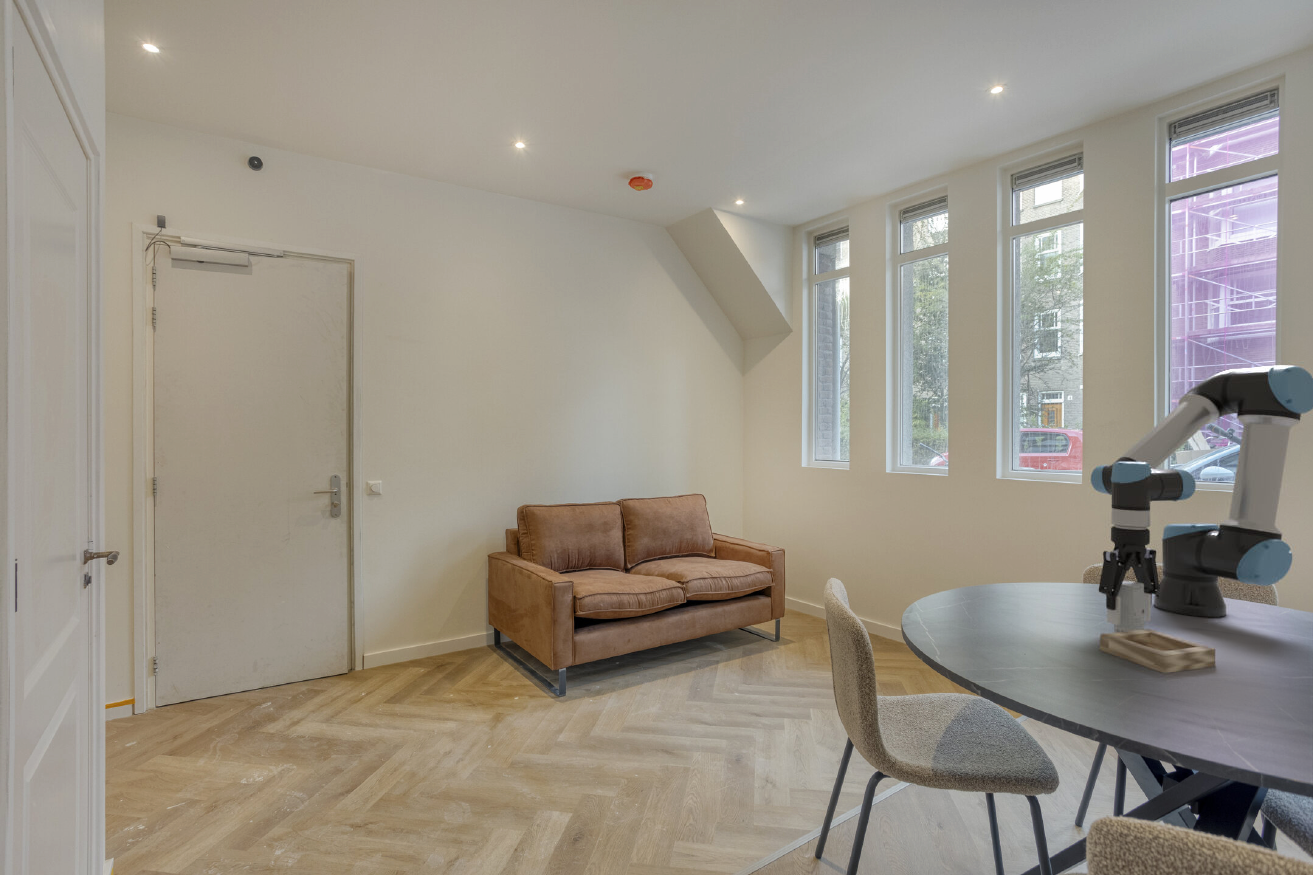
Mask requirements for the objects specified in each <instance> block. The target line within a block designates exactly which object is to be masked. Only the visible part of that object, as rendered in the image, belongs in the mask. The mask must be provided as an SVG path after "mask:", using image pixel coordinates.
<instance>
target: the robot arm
mask: <svg viewBox="0 0 1313 875" xmlns="http://www.w3.org/2000/svg"><path fill="white" fill-rule="evenodd" d="M1312 410H1313V376H1312V374H1311V373H1310V372H1309V371H1308V370H1306V369H1305V368H1303V367H1300V366H1298V365H1278V364H1275V365H1271V366H1270V365H1269V366H1258V367H1249V368H1247V367H1245V368H1232V369H1228V370H1224V371H1220V372H1218V373H1216V374H1214V375H1212V376H1209V377H1208V378H1207V379H1204V380H1203V381H1201V382H1200V383H1198V384H1197V385H1194V386H1193V387H1192V388H1191V389H1190V390H1189V391H1187V392H1186V393H1185V394H1184V395H1183V396H1182V397H1181V398H1179V400H1178V406H1176V408H1174V409H1173V410H1172V411H1170V413H1168V414H1167V415H1166V416H1165V417H1164V418H1163V419H1162V420H1161V421H1159V422H1158V423H1157V424H1156V425H1155V426H1153V428H1151V430H1149V431H1148V432H1147V433H1146V434H1145V435H1144V436H1143V437H1142V438H1141V439H1139V440H1138V441H1137V442H1136V443H1135V444H1134V445H1132V446H1131V447H1130V448H1129V449H1128V450H1126V452H1124V453H1123V454H1122V455H1121V456H1120V457H1119V458H1118V459H1116V461H1114V462H1112V464H1101V465H1099V466H1098V465H1097V466H1096V467H1095V468H1094V469H1093V470H1092V471H1091V474H1090V483H1091V486H1092V487H1093V489H1094V490H1096V491H1097V492H1098V493H1101V494H1105V495H1109V496H1110V495H1111V524H1112V525H1113V526H1112V527H1110V541H1111V542H1112V543H1113V544H1114V547H1113V549H1112V551H1111V550H1110V551H1109V550H1104V551H1103V552H1102V558H1103V563H1102V569H1101V574H1100V579H1099V585H1098V592H1099V593H1101V594H1103V595H1105V597H1106V599H1105V602H1106V603H1105V604H1106V605H1105V607H1106V609H1107V611H1106V612H1107V613H1106V615H1107V616H1106V621H1107V623H1110V624H1113V625H1114V624H1116V625H1120V612H1121V597H1118V593H1119V590H1120V588H1121V585H1122V582H1123V581H1125V578H1126V577H1125V576H1126V575H1127V574H1126V573H1127V572H1128V571H1130V569H1131V568H1132V570H1133V573H1134V577H1135V578H1136V582H1138V583H1143V584H1144V622H1152V620H1151V618H1152V616H1151V614H1152V612H1151V611H1152V610H1151V608H1152V607H1151V606H1152V602H1153V605H1154V606H1155V607H1156V608H1158V609H1161V610H1163V611H1167V612H1170V613H1171V612H1172V613H1176V614H1181V615H1187V616H1193V617H1206V618H1208V617H1209V618H1219V617H1224V616H1226V615H1227V604H1226V603H1225V600H1224V596H1223V594H1222V591H1221V589H1220V586H1219V578H1222V579H1226V580H1231V581H1236V582H1240V583H1242V584H1247V585H1256V586H1260V587H1261V586H1262V587H1263V586H1264V587H1265V586H1267V587H1269V586H1272V585H1274V584H1276V583H1279V581H1281V580H1283V579H1284V577H1286V575H1287V574H1288V573H1289V571H1290V569H1291V566H1292V564H1293V563H1292V562H1293V553H1292V551H1291V547H1290V545H1289V544H1288V543H1287V542H1285V541H1283V540H1282V538H1283V532H1281V530H1280V529H1279V528H1278V527H1276V520H1277V514H1278V513H1277V512H1278V507H1279V500H1280V494H1281V488H1282V482H1283V476H1284V469H1285V464H1286V456H1287V449H1288V444H1289V437H1290V431H1291V429H1292V428H1293V427H1295V426H1296V425H1298V424H1300V422H1301V417H1302V414H1306V413H1309V412H1310V411H1312ZM1233 414H1236V419H1238V421H1239V422H1240V423H1242V425H1243V428H1242V433H1241V439H1240V447H1239V452H1238V459H1237V465H1236V471H1235V477H1234V484H1233V488H1232V489H1233V490H1232V497H1231V503H1230V509H1229V515H1228V518H1227V519H1226V520H1224V521H1222V522H1220V523H1219V524H1217V523H1170V524H1167V525H1166V526H1164V527H1163V533H1162V538H1161V540H1162V541H1161V542H1162V545H1161V546H1162V549H1161V550H1162V552H1161V553H1162V575H1161V576H1162V577H1161V579H1160V581H1159V574H1158V567H1157V561H1156V558H1157V550H1156V549H1152V548H1147V547H1146V546H1148V545H1150V542H1151V541H1150V540H1151V538H1150V537H1151V532H1150V529H1149V528H1150V527H1151V502H1165V501H1166V502H1167V501H1169V502H1171V501H1172V502H1177V501H1185V500H1188V499H1190V498H1191V497H1192V496H1193V495H1194V493H1195V492H1196V486H1197V485H1196V480H1195V477H1194V476H1193V475H1192V474H1191V473H1189V471H1187V470H1184V469H1178V468H1177V469H1176V468H1170V469H1163V468H1159V467H1160V466H1161V465H1162V464H1163V463H1164V462H1165V461H1166V460H1167V459H1168V458H1170V457H1171V456H1172V455H1173V454H1174V453H1175V452H1176V451H1177V450H1179V449H1180V448H1181V447H1182V446H1183V445H1184V444H1185V443H1187V442H1188V440H1190V438H1192V437H1194V435H1196V434H1197V433H1198V432H1199V431H1200V430H1201V429H1202V428H1203V427H1204V426H1206V425H1209V424H1214V423H1216V421H1218V420H1219V419H1220V418H1221V417H1224V416H1227V415H1233ZM1152 595H1154V597H1153V596H1152ZM1153 598H1154V599H1153ZM1152 600H1153V601H1152Z"/></svg>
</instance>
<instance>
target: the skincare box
mask: <svg viewBox="0 0 1313 875" xmlns="http://www.w3.org/2000/svg"><path fill="white" fill-rule="evenodd" d="M1118 597H1121V612H1120V625H1116V624H1113V633H1117V632H1126V631H1134V630H1143V629H1145V621H1144V584H1143V583H1138V582H1137V581H1131V580H1123V582H1122V585H1121V588H1120V590H1119V593H1118Z"/></svg>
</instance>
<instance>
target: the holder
mask: <svg viewBox="0 0 1313 875" xmlns="http://www.w3.org/2000/svg"><path fill="white" fill-rule="evenodd" d="M1099 637H1100V640H1099V642H1100V643H1099V644H1100V645H1099V648H1100V649H1099V650H1100V651H1102V652H1104V653H1107V654H1110V655H1112V656H1114V657H1118V658H1121V659H1123V660H1127V661H1129V662H1132V663H1134V664H1137V665H1141V666H1144V667H1146V668H1148V669H1152V670H1154V671H1156V672H1159V673H1163V674H1169V673H1175V672H1182V671H1189V670H1196V669H1205V668H1210V667H1216V648H1212V647H1209V646H1206V645H1203V644H1200V643H1196V642H1193V641H1190V640H1187V639H1183V638H1181V637H1180V638H1179V637H1176V636H1174V635H1171V634H1167V633H1163V632H1160V631H1158V630H1153V629H1150V628H1146V629H1145V628H1144V629H1143V630H1134V631H1126V632H1117V633H1114V632H1111V633H1110V632H1109V633H1102V634H1100V636H1099Z"/></svg>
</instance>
